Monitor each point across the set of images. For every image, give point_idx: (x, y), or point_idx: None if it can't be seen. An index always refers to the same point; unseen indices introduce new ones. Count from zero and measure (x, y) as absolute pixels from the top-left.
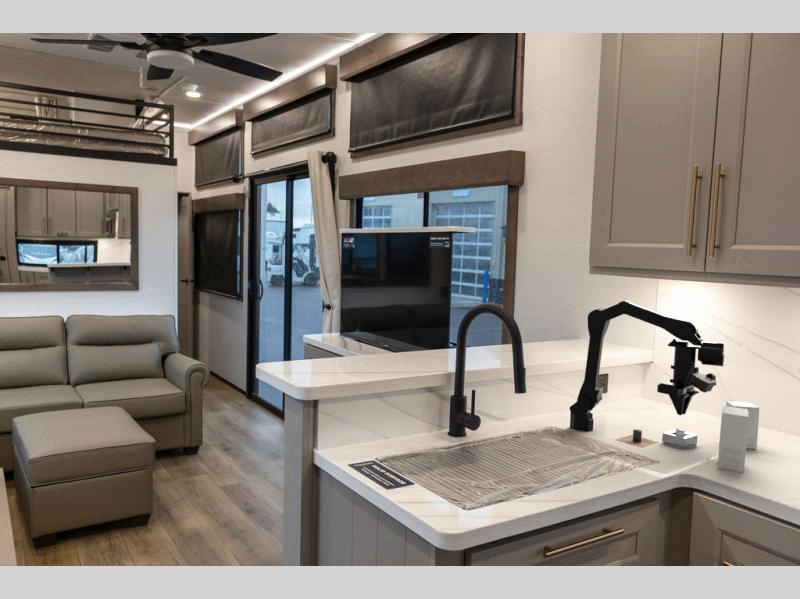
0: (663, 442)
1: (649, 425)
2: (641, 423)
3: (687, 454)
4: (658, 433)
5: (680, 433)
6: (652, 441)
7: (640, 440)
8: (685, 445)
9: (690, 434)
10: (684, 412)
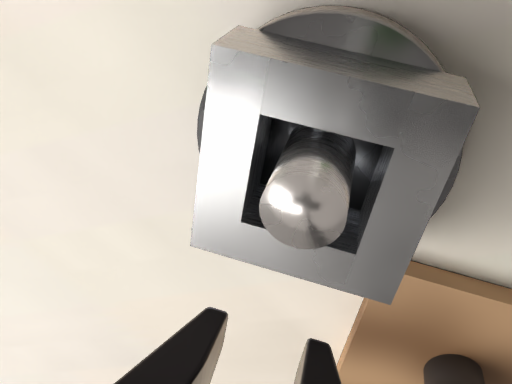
0: None
1: (23, 338)
2: (29, 367)
3: (497, 28)
4: (114, 289)
5: (348, 187)
6: (392, 302)
7: (466, 365)
8: (457, 80)
9: (246, 107)
10: (218, 334)
